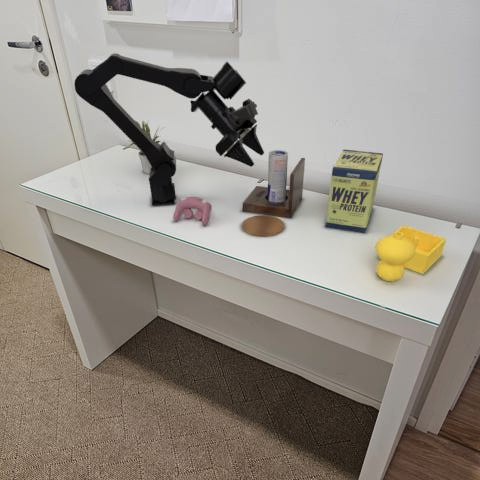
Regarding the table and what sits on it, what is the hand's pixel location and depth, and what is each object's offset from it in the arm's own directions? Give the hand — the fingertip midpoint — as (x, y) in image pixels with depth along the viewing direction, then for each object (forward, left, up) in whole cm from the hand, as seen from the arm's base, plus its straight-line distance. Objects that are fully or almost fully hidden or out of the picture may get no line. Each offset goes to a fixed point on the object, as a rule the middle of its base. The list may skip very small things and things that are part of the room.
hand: (258, 159), depth 118 cm
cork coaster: (-1, -15, -12) cm, 19 cm away
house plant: (-32, +32, -13) cm, 47 cm away
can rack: (+4, -2, -12) cm, 13 cm away
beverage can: (+5, -3, -13) cm, 14 cm away
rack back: (+10, -5, -12) cm, 17 cm away
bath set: (+26, -39, -13) cm, 49 cm away
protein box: (+23, -14, -13) cm, 29 cm away
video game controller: (-19, -8, -13) cm, 24 cm away
